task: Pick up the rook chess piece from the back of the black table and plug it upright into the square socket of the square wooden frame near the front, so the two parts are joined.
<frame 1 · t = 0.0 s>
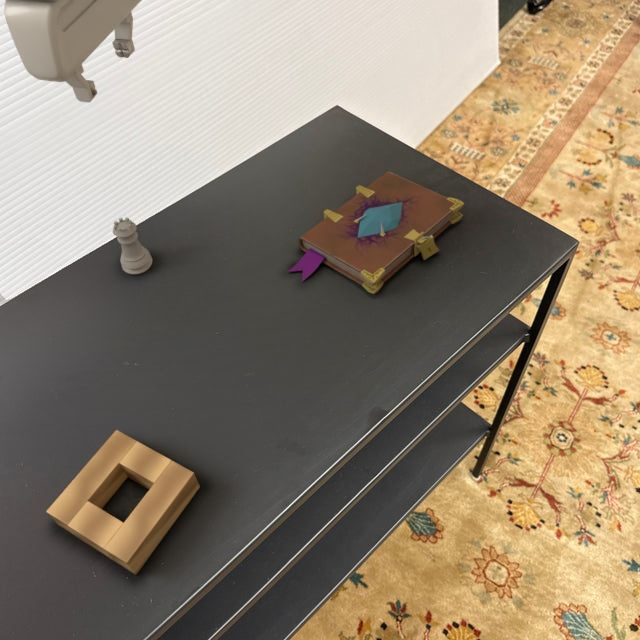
hand: (107, 75, 73), 28 cm above the table, tool pointing down, fingers open, 8 cm apart
rook chess piece: (138, 266, 94), on the table
square wooden frame: (130, 505, 70), on the table
book: (374, 246, 94), on the table
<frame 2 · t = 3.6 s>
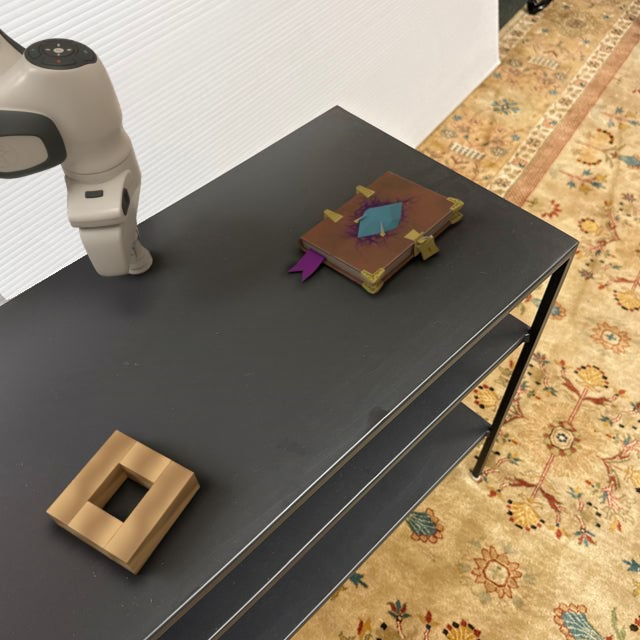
hand: (132, 250, 91), 3 cm above the table, tool pointing down, fingers closed on rook chess piece, 3 cm apart
rook chess piece: (138, 266, 94), on the table, touching gripper
everything else where it was.
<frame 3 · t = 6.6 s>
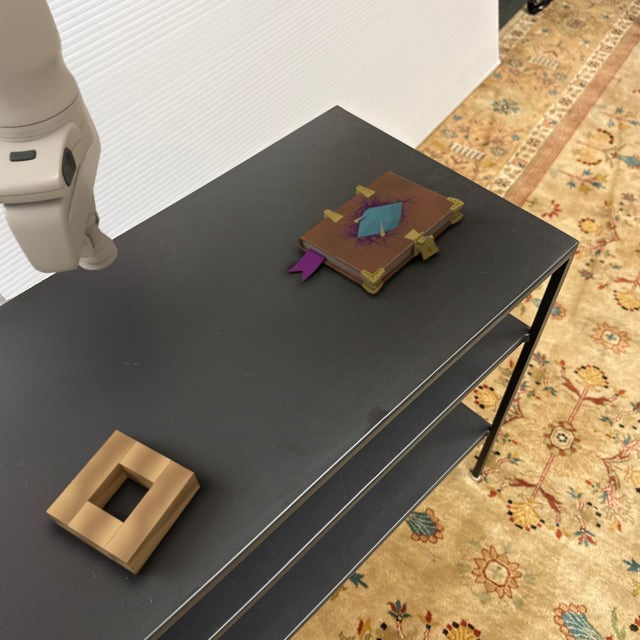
hand: (89, 239, 69), 19 cm above the table, tool pointing down, fingers closed on rook chess piece, 3 cm apart
rook chess piece: (99, 259, 71), point 16 cm above the table, touching gripper
everything else where it was.
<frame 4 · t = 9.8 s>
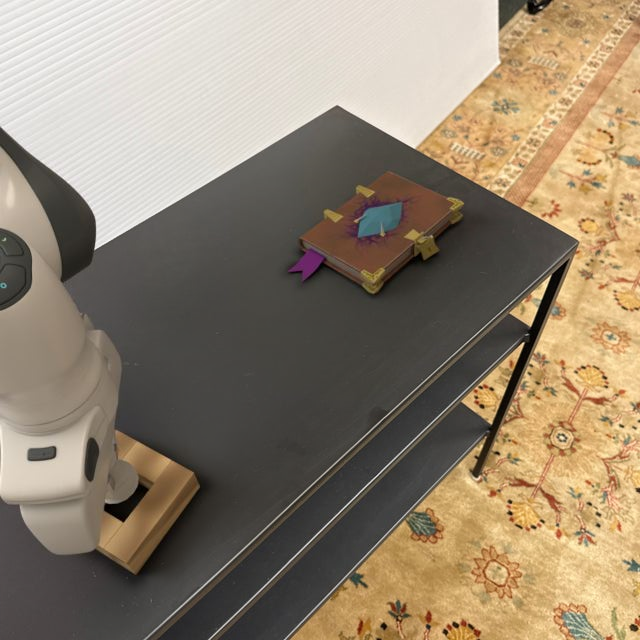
hand: (108, 472, 64), 8 cm above the table, tool pointing down, fingers closed on rook chess piece, 3 cm apart
rook chess piece: (118, 486, 66), point 5 cm above the table, touching gripper
everything else where it was.
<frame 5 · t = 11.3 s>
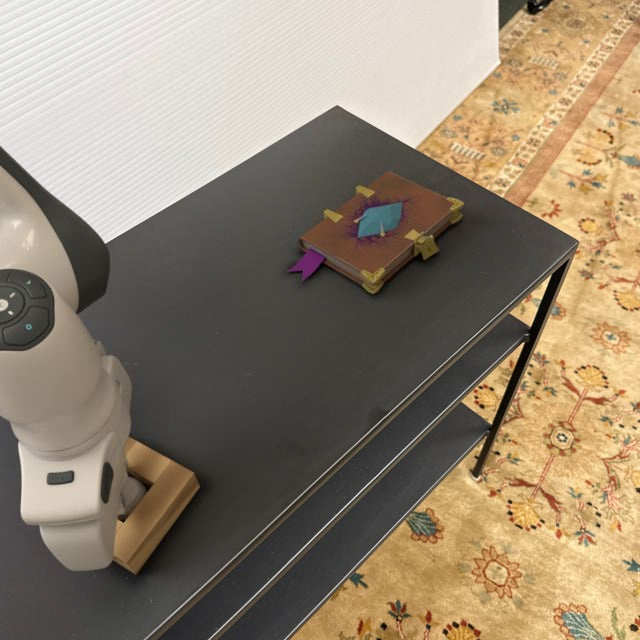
hand: (119, 490, 67), 4 cm above the table, tool pointing down, fingers closed on rook chess piece, 3 cm apart
rook chess piece: (128, 502, 70), point 1 cm above the table, touching gripper
everything else where it was.
when the fingers open (4 cm above the table, at t = 16.1 s): rook chess piece drops 1 cm, resting in square wooden frame.
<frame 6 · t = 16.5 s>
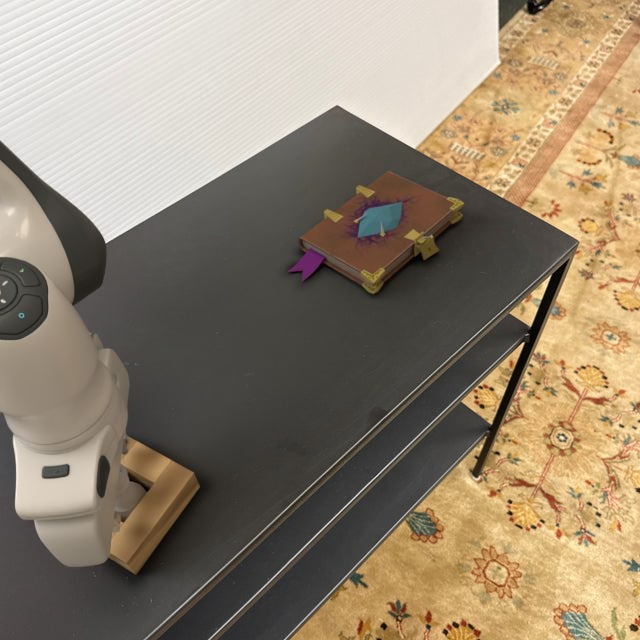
hand: (117, 485, 66), 5 cm above the table, tool pointing down, fingers open, 7 cm apart
rook chess piece: (130, 506, 70), resting in square wooden frame
everything else where it was.
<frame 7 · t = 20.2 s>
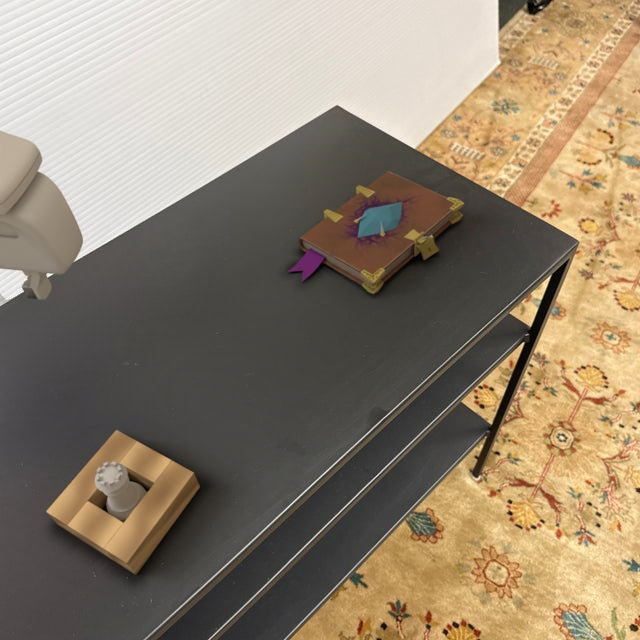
nothing on the table moved.
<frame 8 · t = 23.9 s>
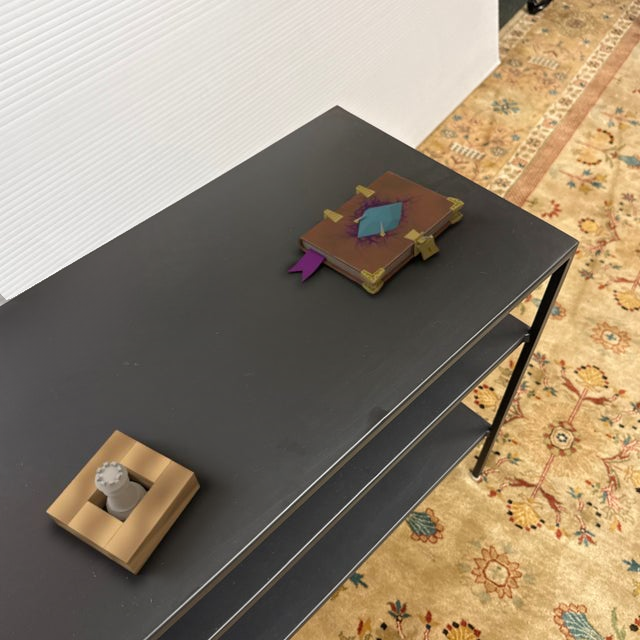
nothing on the table moved.
at the end: rook chess piece 0.1 cm off-centre in the square wooden frame, point 0.0 cm above the square wooden frame's base; rook chess piece tilted 0°; the gripper is holding nothing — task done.
